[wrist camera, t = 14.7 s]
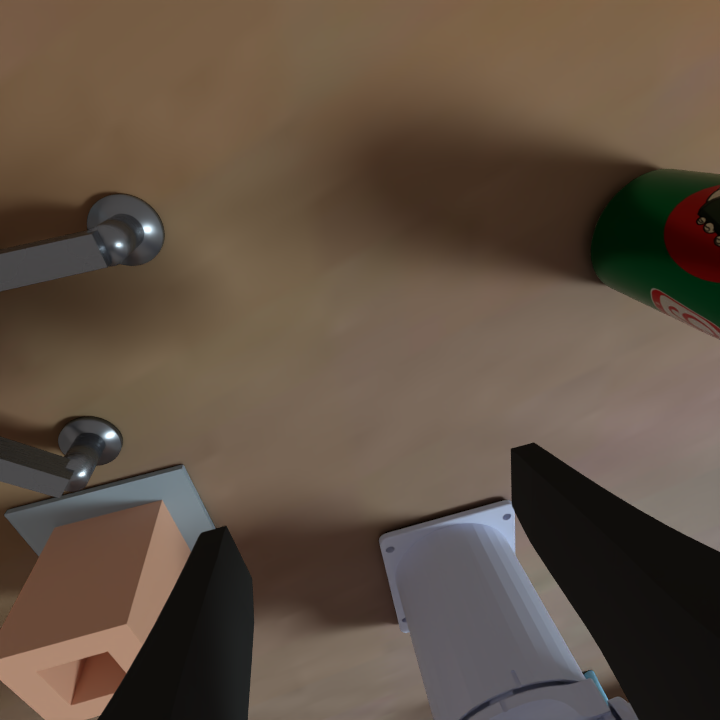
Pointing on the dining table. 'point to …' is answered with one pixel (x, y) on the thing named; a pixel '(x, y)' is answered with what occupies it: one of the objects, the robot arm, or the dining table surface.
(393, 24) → the dining table surface
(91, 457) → the bent jointed bar linkage
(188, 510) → the mat
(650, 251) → the soda can
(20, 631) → the pink block with hole
